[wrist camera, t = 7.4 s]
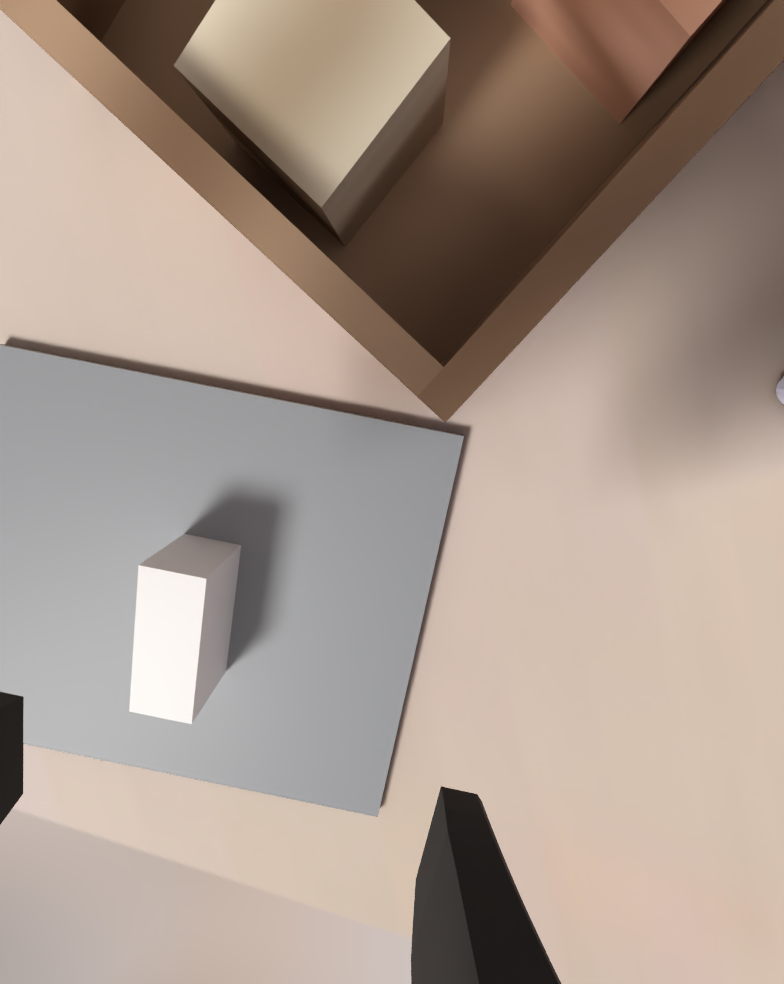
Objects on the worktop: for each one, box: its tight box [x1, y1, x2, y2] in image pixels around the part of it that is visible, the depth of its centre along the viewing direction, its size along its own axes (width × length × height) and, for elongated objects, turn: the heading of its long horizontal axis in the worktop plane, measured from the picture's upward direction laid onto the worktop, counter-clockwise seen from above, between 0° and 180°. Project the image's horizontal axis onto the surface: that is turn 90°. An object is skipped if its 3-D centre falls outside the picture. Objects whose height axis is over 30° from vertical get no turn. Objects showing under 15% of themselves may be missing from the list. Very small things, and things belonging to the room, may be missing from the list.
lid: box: [0, 344, 464, 817], centre depth 17 cm, size 15×15×4 cm
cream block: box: [174, 0, 451, 247], centre depth 12 cm, size 4×4×4 cm
